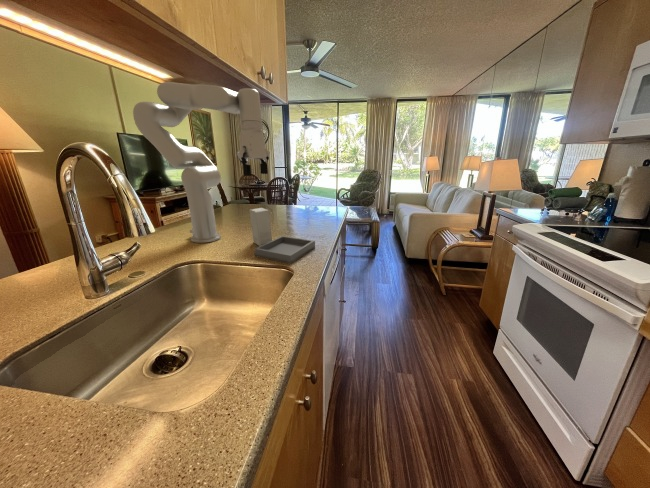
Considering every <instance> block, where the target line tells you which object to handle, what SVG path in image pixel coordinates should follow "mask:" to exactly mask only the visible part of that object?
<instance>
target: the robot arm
mask: <svg viewBox="0 0 650 488" xmlns="http://www.w3.org/2000/svg"><path fill="white" fill-rule="evenodd" d="M156 89H157V90H156V94H157V97H158V99H159V100H160V101H161V102H162V103H163V104H162V103H158V102H152V101H140V102H137V103H136V104H134V106H133V110H132V116H133V120H134V124H135V125H136V128H137V129H138V130H139V132H140V133H141V134H142V136H143V137H144V138H145V139H146V140H148V141H149V143H151V145H153V146H154V148H156V150H157V151H158V152H159V153H160V154H161V156H162V157H163V159H165V160H166V161H167V162H168V163H169V164H170V166H171V167H173V168H174V169H177V170H182V172H181V175H180V180H181V183H182V185H183V188H184V191H185V193H186V197H187V199H186V200H187V203H188V208H189V213H190V214H189V215H190V220H191V227H192V228H191V229H190V230H189V233H191V234H192V236H191V237H190V242H192V243H198V244H202V243H203V244H204V243H212V242H215V241H218V240H220V239H221V238H222V235H221V233H219V232H217V223H216V218H215V210H214V203H213V202H214V201H213V197H212V195H211V193H210V192H209V190H208V188H214V187H216V186H217V187H218V185H219V184H220V183H221V179H222V177H221V173H220V171H219V169H218V167H217V166H216V165H215V164H214V163H213V161H211V159H209V157H208V156H207V155H206V154H205V153H204V152H203V150H201V149H200V148H198V147H196V146H194V145H183V144H181V143H180V142H179V141H178V140H177V139H176V138H175V136H174V135H173V134H172V133H171V132H170V131H168V130H167V129H165V127H166V128H175V127H177V126H180V124H181V123H182V122H183V121H184V120H185V119H186V117H187V116H188V115H189V114H190V113H191V112H192V111H194V110H195V111H201V110H203V109H206V110H215V111H220V112H224V113H229V114H232V115H239V118H240V119H239V120H240V127H241V130H240V132H239V150H238V151H236V155H237V158H238V161H239V162H240V163H241V165H242V169H243V176H244V177H245V176H246V177H251V176H252V166H251V164H250V162H251V160H258V161H259V162H260V163H259V169H260V174H261V175H268V174H269V172H268V170H269V169H268V164H269V159H270V151H269V150H268V149H267V147H266V140H265V135H264V131H263V124H262V123H263V121H262V119H263V118H262V109H261V108H262V107H261V96H260V93H259V91H258V90H257V89H255V88H248V87H246V88H245V87H243V88H240V89H238V91H235V90H232V89H229V88H227V87H223V86H220V85H212V84H202V83H199V84H197V83H196V84H193V83H181V82H172V81H164V82H161V83H160V84H159V85H158V86H157V88H156Z"/></svg>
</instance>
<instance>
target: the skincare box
mask: <svg viewBox="0 0 650 488" xmlns="http://www.w3.org/2000/svg"><path fill="white" fill-rule="evenodd" d="M249 215H250V217H249V218H250V223H251V224H250V225H251V231H252V239H253V240H252V241H253V243H254V244H255V245H257V247H259V246H261V245H264V244H266V243H268V242H270V241H272V240H273V236H272V228H271V227H272V226H271V219H270V210H269V209H266V208H263V207H259V208H252V209H249Z"/></svg>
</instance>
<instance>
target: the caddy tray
mask: <svg viewBox="0 0 650 488" xmlns="http://www.w3.org/2000/svg"><path fill="white" fill-rule="evenodd" d="M315 248H316V240H312V239H307V238H306V239H304V238H299V237H292V236H286V235H281V236H278V237H277V238H274V239H272V241H270V242H268V243H266V244H264V245H261V246H257V247H256V248H254V257H256V256H258V257H257V258H261V257H262V258H263V259H266V258H267V259H268V260H271V259H272V260H271V261H277V262H281V263H286V264H290V265H292V264H293V263H294V262H296V261H297V260H299V259H300V258H302V257H303V256H305V255H307V254H308V253H310V252H311V251H313V250H314V249H315Z"/></svg>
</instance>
